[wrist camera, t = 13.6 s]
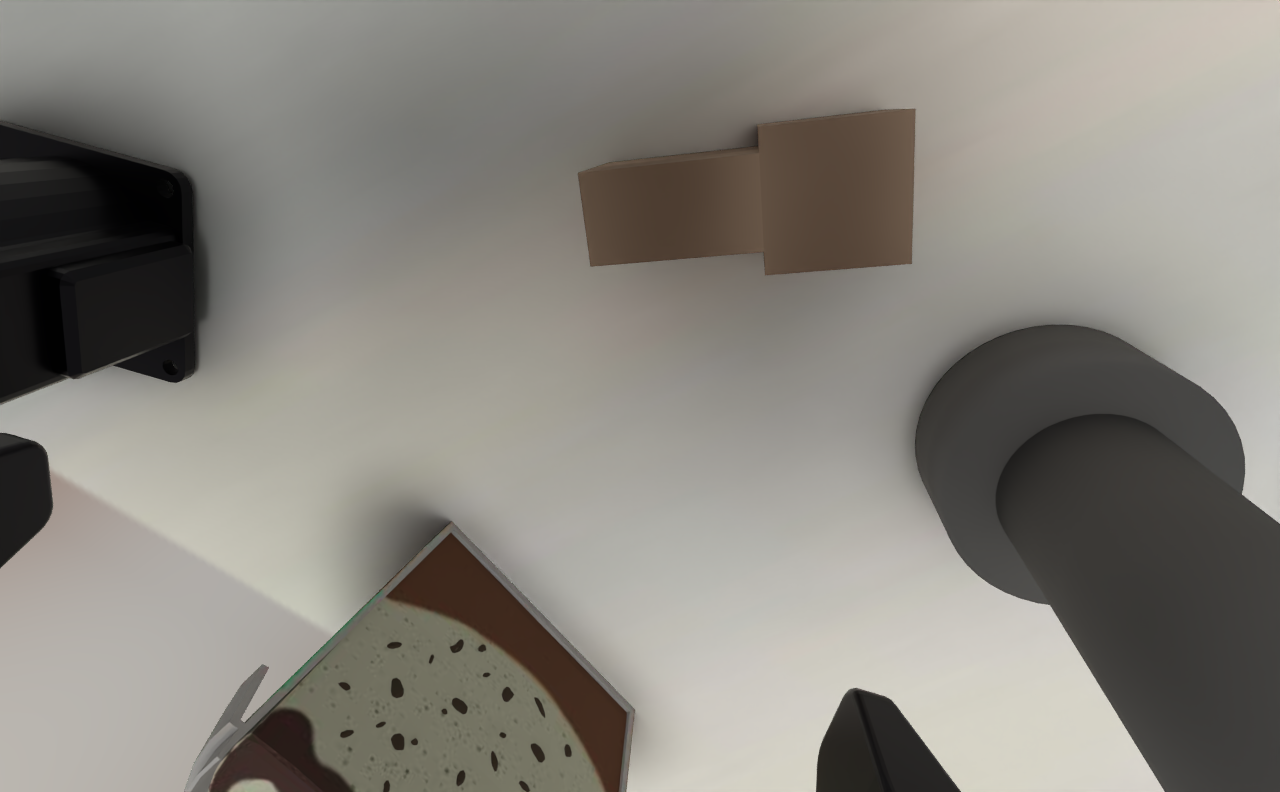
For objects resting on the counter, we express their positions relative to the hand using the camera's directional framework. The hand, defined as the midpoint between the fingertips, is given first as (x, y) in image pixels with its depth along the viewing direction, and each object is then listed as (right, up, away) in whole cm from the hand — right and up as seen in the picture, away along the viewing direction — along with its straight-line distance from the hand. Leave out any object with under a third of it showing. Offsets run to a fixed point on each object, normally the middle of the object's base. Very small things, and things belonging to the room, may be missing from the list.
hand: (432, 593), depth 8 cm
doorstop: (+13, +1, +12) cm, 18 cm away
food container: (-3, -7, +18) cm, 19 cm away
